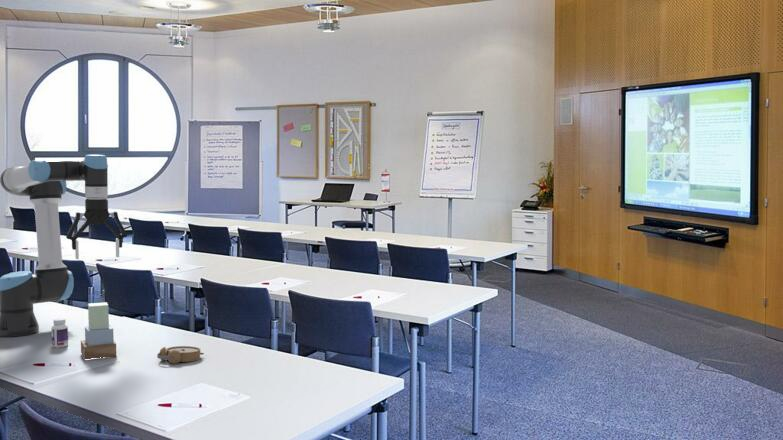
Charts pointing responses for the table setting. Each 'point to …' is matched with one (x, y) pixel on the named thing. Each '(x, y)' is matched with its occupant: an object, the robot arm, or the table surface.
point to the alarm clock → (179, 354)
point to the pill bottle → (59, 333)
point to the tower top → (99, 336)
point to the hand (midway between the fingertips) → (97, 257)
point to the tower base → (98, 350)
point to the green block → (98, 316)
